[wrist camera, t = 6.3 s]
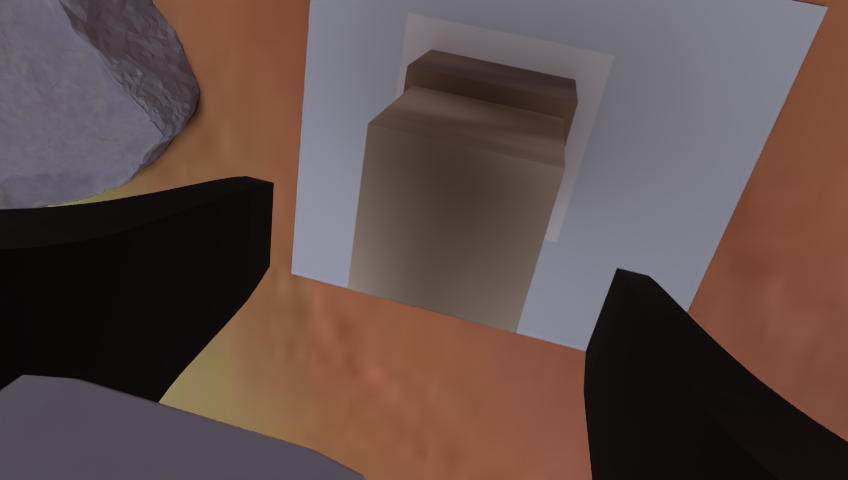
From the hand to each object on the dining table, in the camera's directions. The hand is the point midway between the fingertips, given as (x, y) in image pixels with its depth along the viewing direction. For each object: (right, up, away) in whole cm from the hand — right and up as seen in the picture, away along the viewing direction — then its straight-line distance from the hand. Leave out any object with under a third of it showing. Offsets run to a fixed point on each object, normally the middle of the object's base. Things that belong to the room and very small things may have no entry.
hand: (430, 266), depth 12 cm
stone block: (-15, +8, +12) cm, 21 cm away
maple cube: (+1, +3, +6) cm, 7 cm away
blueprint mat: (+3, +3, +9) cm, 10 cm away
